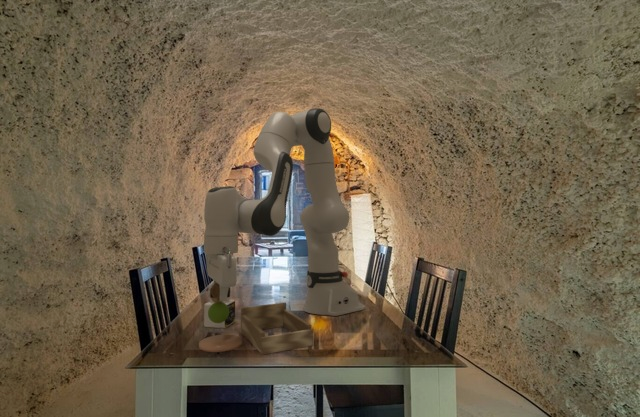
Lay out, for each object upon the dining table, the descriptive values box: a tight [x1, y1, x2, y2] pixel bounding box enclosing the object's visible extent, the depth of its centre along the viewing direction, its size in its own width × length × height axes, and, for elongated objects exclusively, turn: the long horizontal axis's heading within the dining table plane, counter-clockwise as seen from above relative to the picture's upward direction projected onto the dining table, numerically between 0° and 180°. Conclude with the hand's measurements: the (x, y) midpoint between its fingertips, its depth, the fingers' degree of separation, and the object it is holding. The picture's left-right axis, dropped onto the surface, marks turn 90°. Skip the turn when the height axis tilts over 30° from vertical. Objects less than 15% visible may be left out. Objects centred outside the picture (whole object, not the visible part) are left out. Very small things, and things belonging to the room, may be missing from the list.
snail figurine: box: [208, 283, 229, 323], centre depth 94 cm, size 5×6×12 cm
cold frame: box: [240, 302, 314, 356], centre depth 99 cm, size 14×20×7 cm
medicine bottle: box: [203, 287, 236, 329], centre depth 112 cm, size 7×7×12 cm
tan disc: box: [198, 334, 243, 353], centre depth 94 cm, size 11×11×1 cm
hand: (220, 298), depth 95 cm, fingers closed on snail figurine, 4 cm apart
